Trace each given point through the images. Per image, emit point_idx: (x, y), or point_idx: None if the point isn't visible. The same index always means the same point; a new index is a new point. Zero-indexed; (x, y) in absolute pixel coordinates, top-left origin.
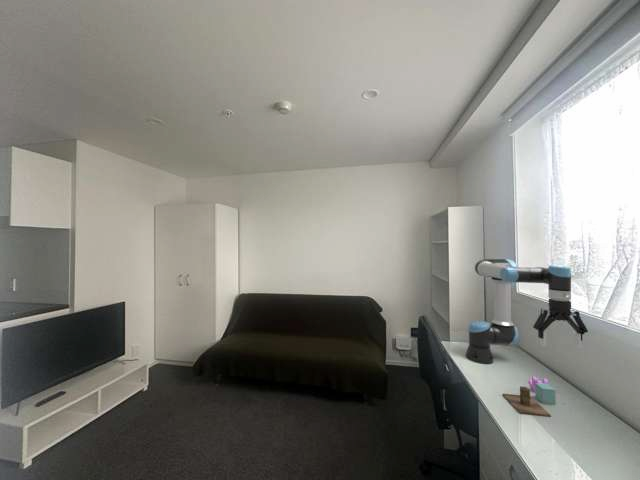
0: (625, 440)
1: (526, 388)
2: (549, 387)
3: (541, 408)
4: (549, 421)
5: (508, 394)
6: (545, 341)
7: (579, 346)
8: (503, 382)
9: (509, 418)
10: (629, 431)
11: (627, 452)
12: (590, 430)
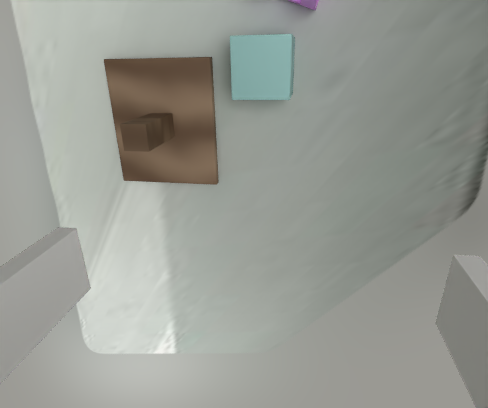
0: (366, 265)
1: (140, 138)
2: (275, 78)
3: (206, 149)
4: (199, 205)
5: (125, 62)
6: (45, 329)
7: (453, 346)
8: None
9: (89, 205)
10: (429, 226)
11: (321, 303)
12: (298, 234)
